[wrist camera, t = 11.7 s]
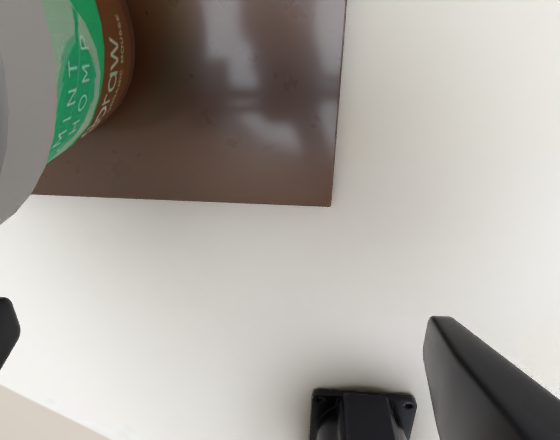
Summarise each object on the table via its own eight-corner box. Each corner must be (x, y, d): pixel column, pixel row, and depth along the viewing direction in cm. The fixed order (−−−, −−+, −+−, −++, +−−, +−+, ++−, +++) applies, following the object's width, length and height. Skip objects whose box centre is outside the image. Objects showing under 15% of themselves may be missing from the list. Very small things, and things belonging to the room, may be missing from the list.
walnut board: (330, 202, 20) (330, 207, 20) (-87, 185, 21) (-97, 189, 21) (358, -166, 14) (360, -173, 14) (-226, -161, 15) (-246, -168, 15)
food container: (145, 197, 20) (11, 336, 11) (22, 164, 20) (-220, 279, 11) (183, -103, 15) (-17, -308, 6) (15, -156, 14) (-481, -460, 5)
